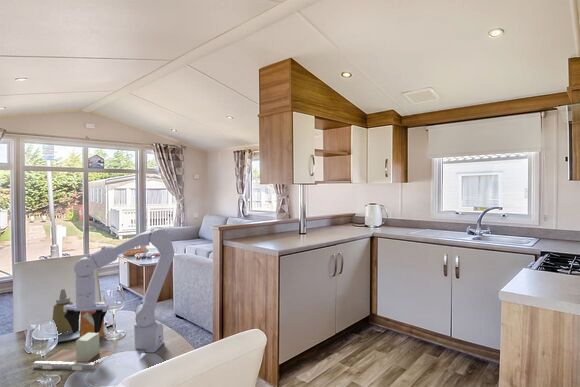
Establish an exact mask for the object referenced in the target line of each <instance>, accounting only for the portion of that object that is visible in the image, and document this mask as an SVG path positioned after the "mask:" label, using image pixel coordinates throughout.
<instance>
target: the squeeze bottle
mask: <svg viewBox="0 0 580 387" xmlns="http://www.w3.org/2000/svg"><path fill="white" fill-rule="evenodd" d="M59 294H60V295H59V297H58V298H57V297H56V300H55V302H56V303H55V304H54V305H53V310H52V320H54V322H55V324H56V327H57V331H58V334H60V333H63V334H65V333H64V332H66V333H68V332H67V331H69V332H71V331H70V330H72V329H71V326H70V324H69V322H68V321H67V319H66V318H65V317H64V315H65V314H66V313H67V312H64V310H63V307H64V306H66V305H71V304H74V302H72V301H71V296H68V295H67V293H66V289H65V288H62V289H61V290H60V293H59ZM52 320H51V321H52Z"/></svg>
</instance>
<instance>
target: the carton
mask: <svg viewBox="0 0 580 387" xmlns="http://www.w3.org/2000/svg"><path fill="white" fill-rule="evenodd" d="M75 350H76V361H85V362H88V361H89V360H90V359H92V358H93V357H94V356H96V355H97V354H98V353H100V351H99V350H100V337H99V333H87V334H85V335H84V336H82V337H81V338H80V337H79V338H77V339H76V340H75Z"/></svg>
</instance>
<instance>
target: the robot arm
mask: <svg viewBox="0 0 580 387" xmlns="http://www.w3.org/2000/svg"><path fill="white" fill-rule="evenodd" d="M150 243H151V245H152V246H154V247H155V248H156V249H157V252H158V253H159V257H158V260H157V263H156V266H155V267H154V270H153V273H152V275H151V278H150V281H149V283H148V286H147V288H146V291H145V294H144V296H143V297H142V298H141V301H140V302H139V303H138V304H137V306H136V307H135V310H134V312H135V319H134V320H135V322H134V323H133V326H134V328H133V330H134V331H133V332H134V348H135V349H137V350H143V351H144V352H143V353H156V351H158V350H159V349H160V347H162V345H163V344H165V341H164V325H163V324H162V323H161V322H157V321H156V317H155V316H156V315H155V310H156V308H157V303H158V299H159V296H160V294H161V291H162V288H163V286H164V284H165V280H166V278H167V275H168V272H169V270H170V267H171V265H172V262H173V260H174V256H175V249H174V246H173V242H172V238H171V236H170V235H169V234H168V233H167V230H165V229H164V228H162V227H160V226H159V227H158V226H157V227H154V228H152V229H148V230H146V231H143V232H141V233H139V234H137V235H135V236H133V237H131V238H129V239H127V240H125V241H123V242H121V243H120V244H117V245H116V246H111V245H104V246H102V247H101V248H100V249H99V250H97V251H95V252H93V253H87V254H86V256H84V257H82V258H80V259H78V261H76V263H75V265H74V266H73V271H74V273H75V303H73V304H71V305H66V306H64V307H63V310H64V312H67V313H66V314H65V315H64V317H65V318H66V319H67V321H68V322H69V324H70V326H71V329H72V333H73V334H76V333H77V332H80V316H81V311H96V312H95V313H93V314H92V317H93V321H94V331H95V333H98V332H99V331H100V329H101V325H102V322H103V319H104V320H105V316H106V314H107V312H108V310H109V303H105V304H100V303H98V302H97V301H96V277H95V270H100V269H101V268H103V267H105V266H107V265H110V264H111V263H113V262H115V261H117V259H118V257H119V255H121V254H124V253H126V252H128V251H130V250H133V249H135V248H137V247H139V246H150Z"/></svg>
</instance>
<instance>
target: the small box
mask: <svg viewBox="0 0 580 387" xmlns="http://www.w3.org/2000/svg"><path fill="white" fill-rule="evenodd" d="M97 303H100V304H106V302H105V301H98V302H97ZM95 312H96V311H80V316H79V338H81V337H82V336H84V335H85V334H87V333H95V331H94V321H93V317H92V314H93V313H95ZM104 328H105V318H104V319H103V322H102V325H101V329H100V331H99V332H98V333H99V338H102V337H104V332H105V331H104Z"/></svg>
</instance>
